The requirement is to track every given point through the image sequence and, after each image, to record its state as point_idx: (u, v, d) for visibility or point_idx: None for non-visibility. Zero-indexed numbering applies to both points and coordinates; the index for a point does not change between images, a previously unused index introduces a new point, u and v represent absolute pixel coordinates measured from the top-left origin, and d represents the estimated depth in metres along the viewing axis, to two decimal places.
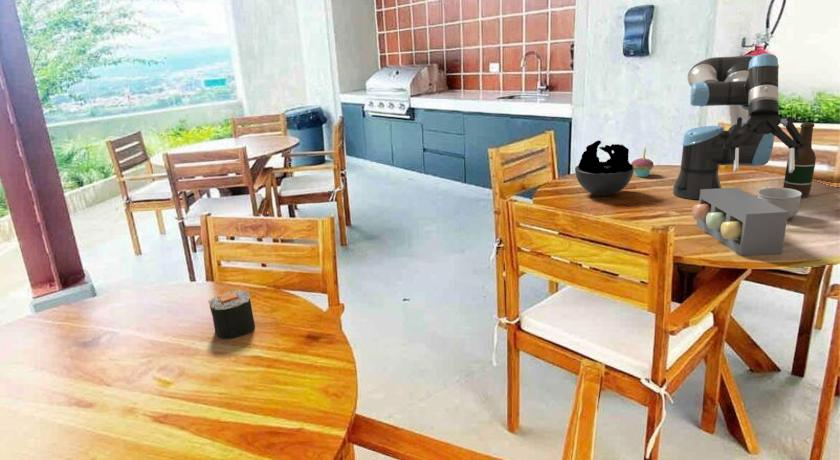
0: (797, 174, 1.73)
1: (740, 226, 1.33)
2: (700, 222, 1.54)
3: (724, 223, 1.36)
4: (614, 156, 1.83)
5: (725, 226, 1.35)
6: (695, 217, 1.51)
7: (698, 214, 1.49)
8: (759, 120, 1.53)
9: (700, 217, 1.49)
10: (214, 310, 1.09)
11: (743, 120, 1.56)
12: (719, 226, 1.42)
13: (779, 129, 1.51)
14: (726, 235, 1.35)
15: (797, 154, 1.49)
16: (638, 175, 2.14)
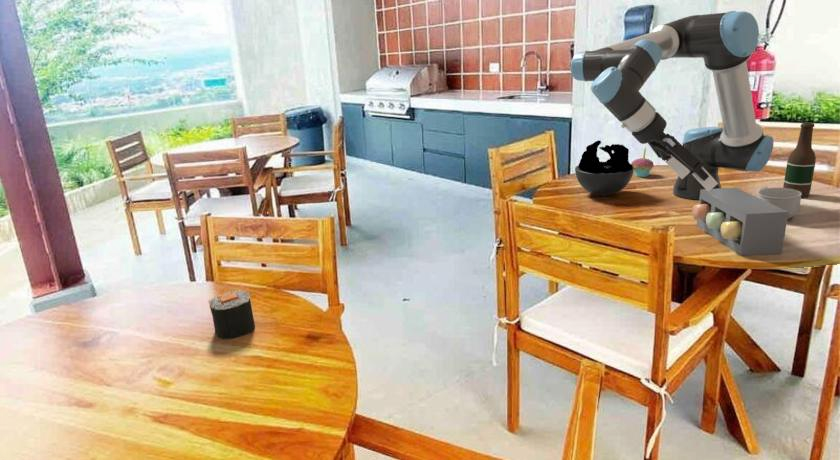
0: (797, 174, 1.73)
1: (740, 226, 1.33)
2: (700, 222, 1.54)
3: (724, 223, 1.36)
4: (614, 156, 1.83)
5: (725, 226, 1.35)
6: (695, 217, 1.51)
7: (698, 214, 1.49)
8: (651, 145, 1.30)
9: (700, 217, 1.49)
10: (214, 310, 1.09)
11: None
12: (719, 226, 1.42)
13: (669, 154, 1.26)
14: (726, 235, 1.35)
15: (700, 176, 1.23)
16: (638, 175, 2.14)
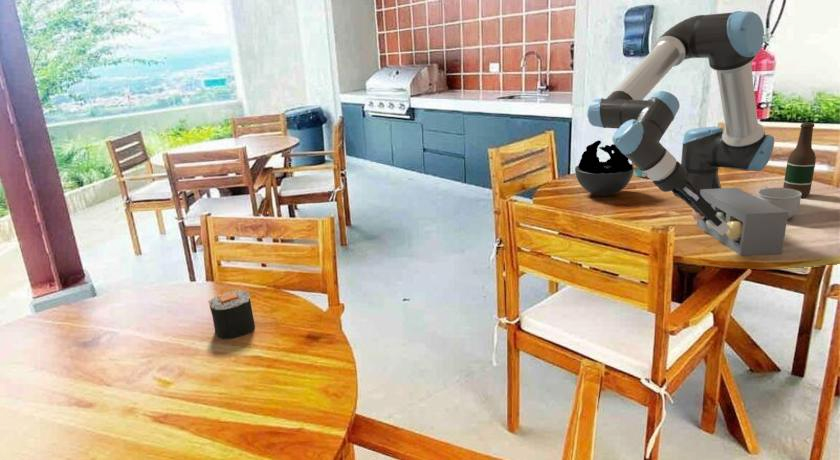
0: (797, 174, 1.73)
1: None
2: (700, 222, 1.54)
3: (729, 223, 1.36)
4: (614, 156, 1.83)
5: (730, 225, 1.35)
6: (695, 217, 1.51)
7: (698, 214, 1.49)
8: (672, 191, 1.34)
9: (700, 217, 1.49)
10: (214, 310, 1.09)
11: None
12: None
13: None
14: (731, 234, 1.35)
15: (714, 223, 1.33)
16: (638, 175, 2.14)
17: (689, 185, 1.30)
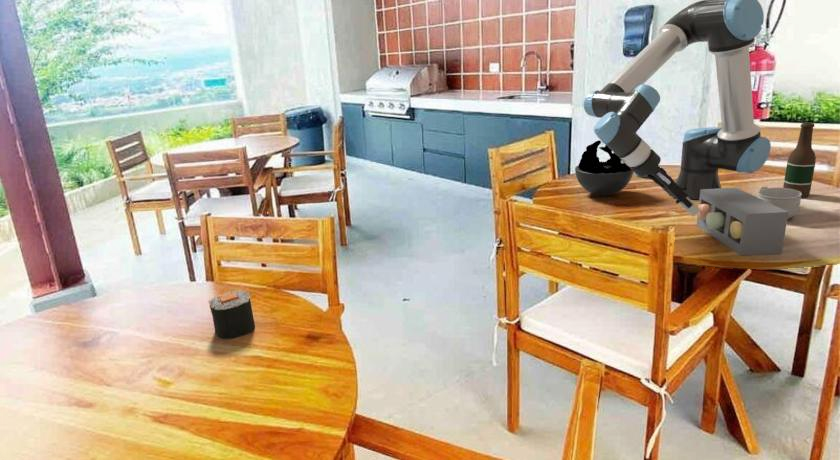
0: (797, 174, 1.73)
1: None
2: (700, 222, 1.54)
3: (733, 223, 1.36)
4: (614, 156, 1.83)
5: (734, 225, 1.35)
6: (699, 217, 1.51)
7: (702, 214, 1.49)
8: None
9: (704, 217, 1.49)
10: (214, 310, 1.09)
11: None
12: (719, 226, 1.42)
13: None
14: (736, 234, 1.35)
15: (685, 205, 1.48)
16: None
17: (662, 171, 1.45)
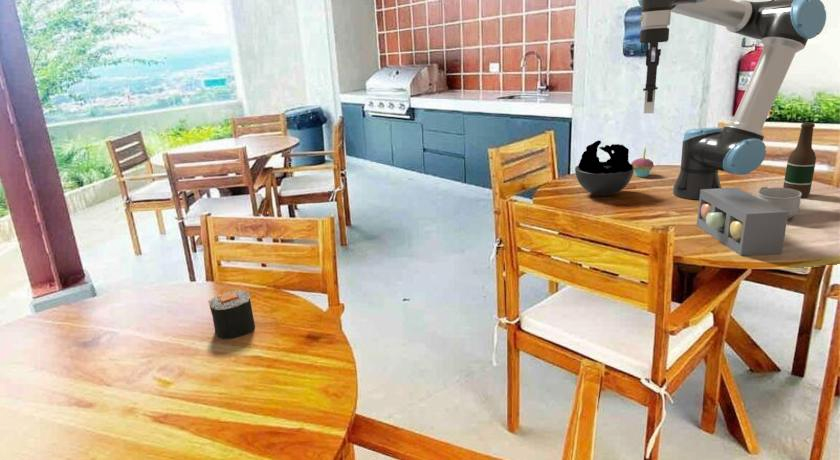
0: (797, 174, 1.73)
1: None
2: (700, 222, 1.54)
3: (733, 223, 1.36)
4: (614, 156, 1.83)
5: (734, 225, 1.35)
6: (703, 217, 1.51)
7: (706, 214, 1.49)
8: None
9: None
10: (214, 310, 1.09)
11: None
12: (719, 226, 1.42)
13: (646, 65, 1.51)
14: (736, 234, 1.35)
15: (647, 97, 1.53)
16: (638, 175, 2.14)
17: (658, 51, 1.48)
